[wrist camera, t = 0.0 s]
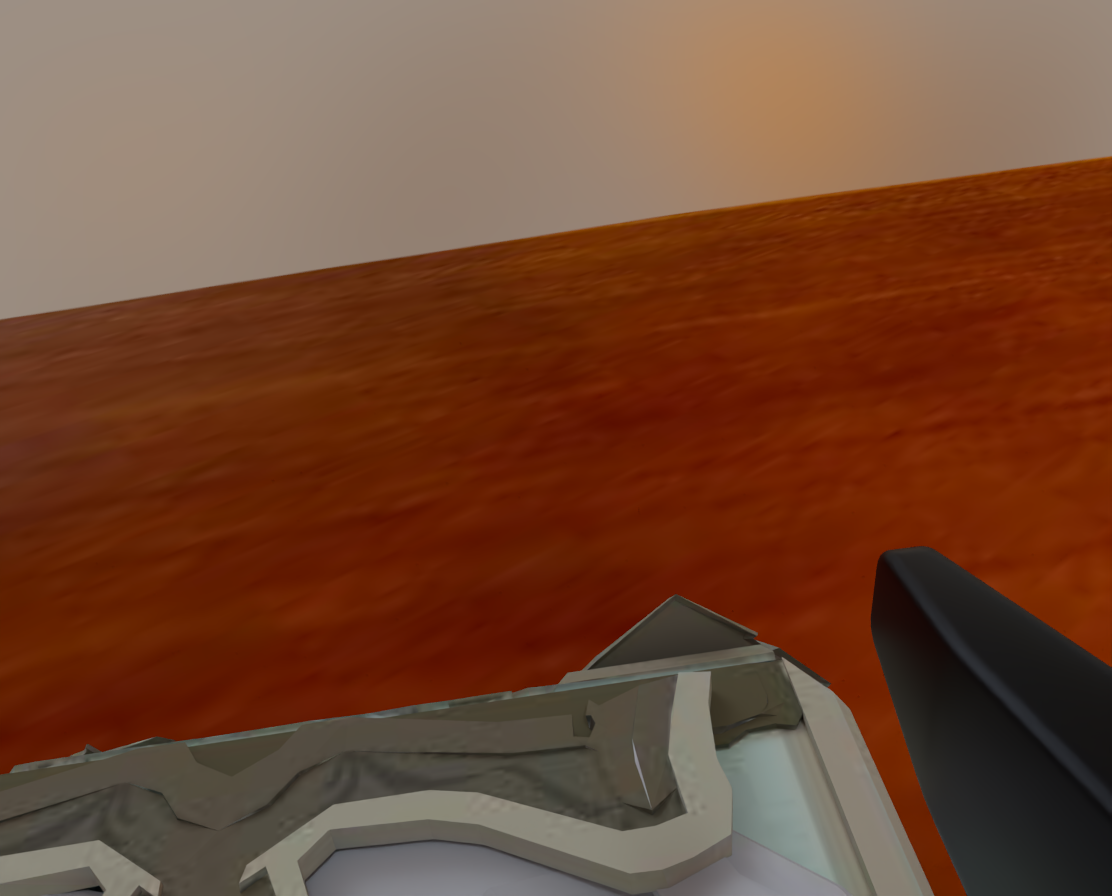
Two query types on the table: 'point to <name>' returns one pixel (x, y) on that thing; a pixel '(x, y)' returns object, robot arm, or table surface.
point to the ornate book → (494, 792)
